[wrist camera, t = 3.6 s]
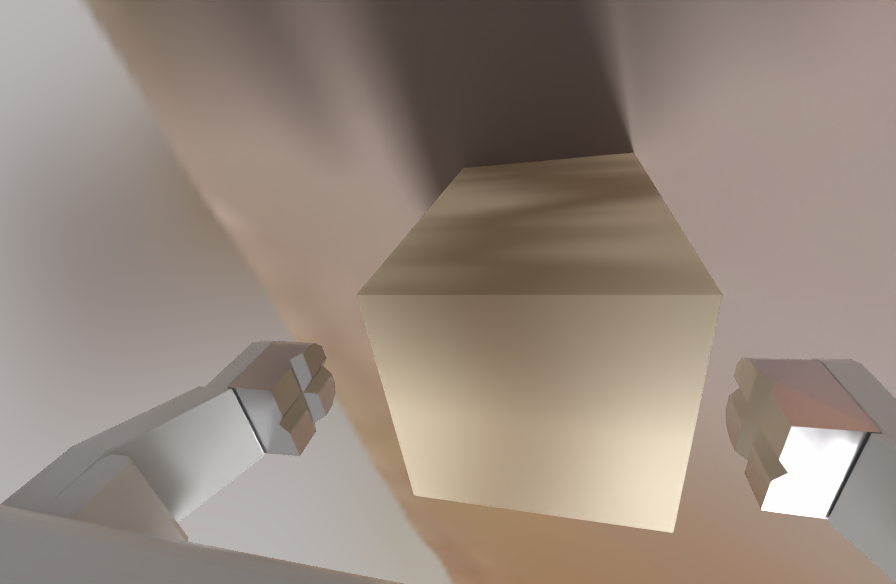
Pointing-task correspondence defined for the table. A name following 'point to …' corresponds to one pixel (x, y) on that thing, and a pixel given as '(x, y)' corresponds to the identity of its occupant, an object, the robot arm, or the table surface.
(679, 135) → the table surface
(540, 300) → the beech block
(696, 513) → the table surface
